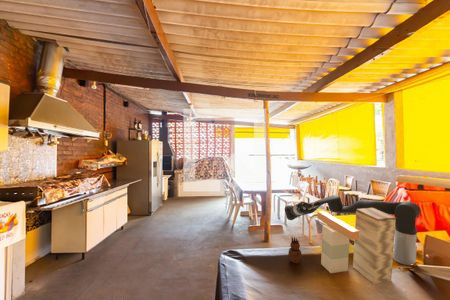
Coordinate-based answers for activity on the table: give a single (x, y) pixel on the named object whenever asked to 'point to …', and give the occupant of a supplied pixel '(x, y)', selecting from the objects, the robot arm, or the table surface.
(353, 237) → the beam
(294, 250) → the wooden figurine
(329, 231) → the tower
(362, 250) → the stand
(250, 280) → the table surface
